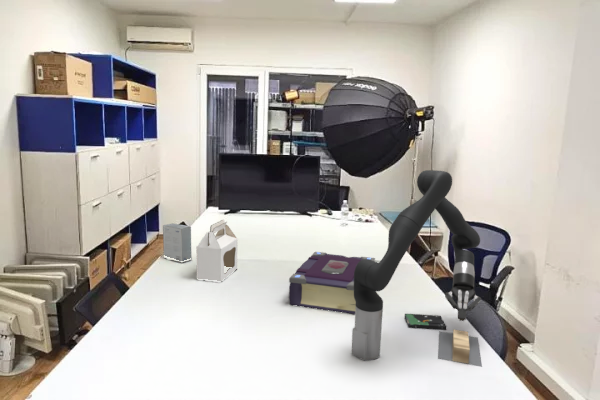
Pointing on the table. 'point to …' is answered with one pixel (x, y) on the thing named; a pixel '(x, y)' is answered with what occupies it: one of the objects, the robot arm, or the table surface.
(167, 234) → the hard drive box
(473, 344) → the rubber mat
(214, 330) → the table surface
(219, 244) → the gable box
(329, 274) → the book
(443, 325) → the disk drive
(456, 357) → the oak block
